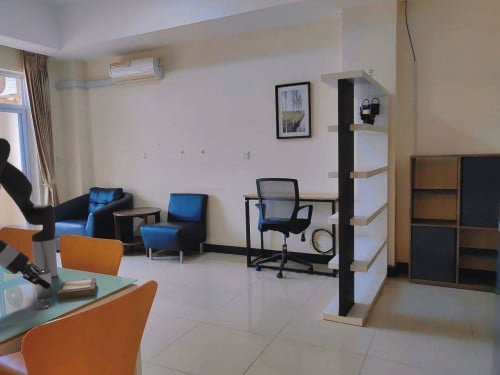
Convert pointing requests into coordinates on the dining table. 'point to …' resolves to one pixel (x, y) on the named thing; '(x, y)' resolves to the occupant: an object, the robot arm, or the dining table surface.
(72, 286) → the stand
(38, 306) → the bracket plate
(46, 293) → the housing
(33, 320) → the dining table surface
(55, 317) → the dining table surface
